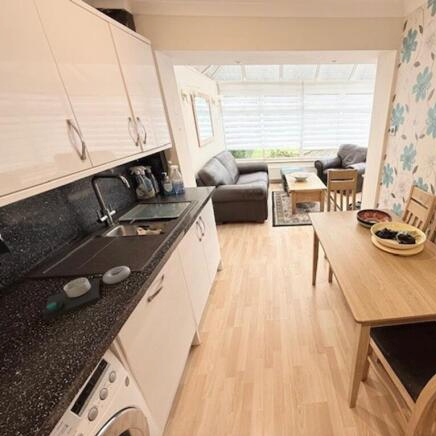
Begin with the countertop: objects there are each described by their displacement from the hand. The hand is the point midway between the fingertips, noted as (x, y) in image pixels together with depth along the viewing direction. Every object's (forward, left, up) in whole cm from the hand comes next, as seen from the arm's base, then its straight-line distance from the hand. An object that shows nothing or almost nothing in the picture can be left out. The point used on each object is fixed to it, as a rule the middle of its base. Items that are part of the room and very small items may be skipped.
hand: (0, 259), depth 76 cm
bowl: (+6, +11, -23) cm, 26 cm away
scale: (+6, +8, -24) cm, 26 cm away
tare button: (+6, +2, -22) cm, 23 cm away
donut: (+12, +22, -24) cm, 35 cm away
